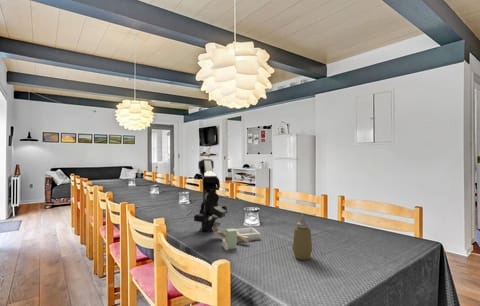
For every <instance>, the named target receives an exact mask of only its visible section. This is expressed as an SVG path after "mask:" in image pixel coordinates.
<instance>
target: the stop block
mask: <svg viewBox="0 0 480 306" xmlns="http://www.w3.org/2000/svg"><path fill="white" fill-rule="evenodd" d="M235 229H236V228H234V227H233V228H225V232H226V242H227V243H228V250H233V249H237V243H236V241H237V231H236V230H235Z"/></svg>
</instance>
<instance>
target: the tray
mask: <svg viewBox="0 0 480 306" xmlns="http://www.w3.org/2000/svg"><path fill="white" fill-rule="evenodd" d="M234 229H235V230H236V231H237V235H241V236H246V237H249V241H248V242H250V241H261V238H262V235H261V234H262V233H260V232H259V231H258V230H256V229H255V228H254V227H245V228H243V227H242V228H234ZM241 242H243V241H239V243H241Z"/></svg>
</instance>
